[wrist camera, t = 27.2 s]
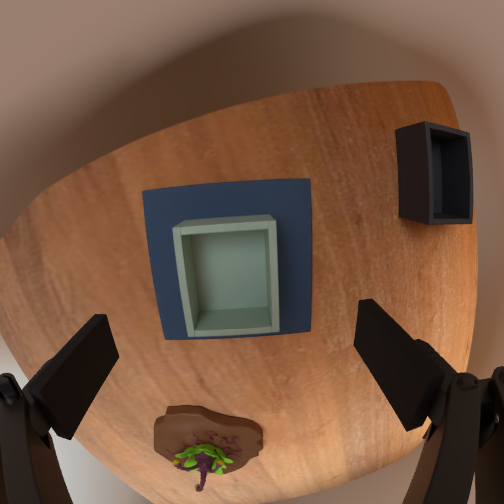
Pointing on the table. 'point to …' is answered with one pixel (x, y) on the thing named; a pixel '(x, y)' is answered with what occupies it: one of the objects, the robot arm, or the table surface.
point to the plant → (206, 440)
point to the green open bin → (228, 275)
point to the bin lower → (434, 174)
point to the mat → (228, 205)
